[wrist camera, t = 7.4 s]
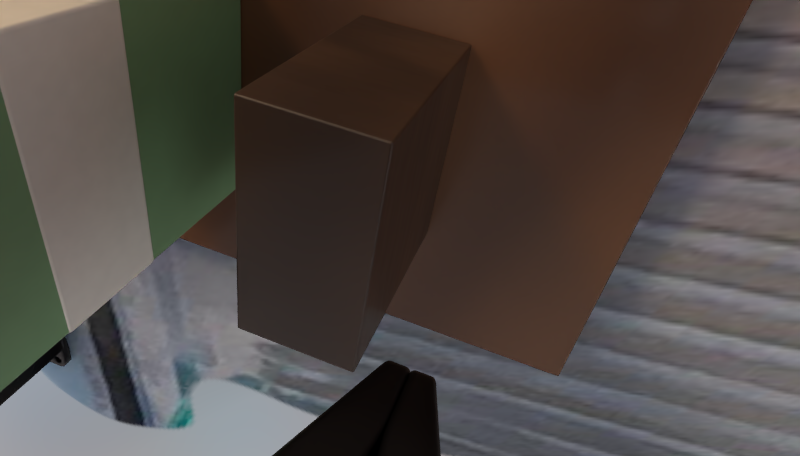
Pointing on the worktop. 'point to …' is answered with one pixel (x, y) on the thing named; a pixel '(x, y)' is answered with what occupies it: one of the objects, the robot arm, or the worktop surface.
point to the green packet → (104, 150)
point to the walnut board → (451, 162)
